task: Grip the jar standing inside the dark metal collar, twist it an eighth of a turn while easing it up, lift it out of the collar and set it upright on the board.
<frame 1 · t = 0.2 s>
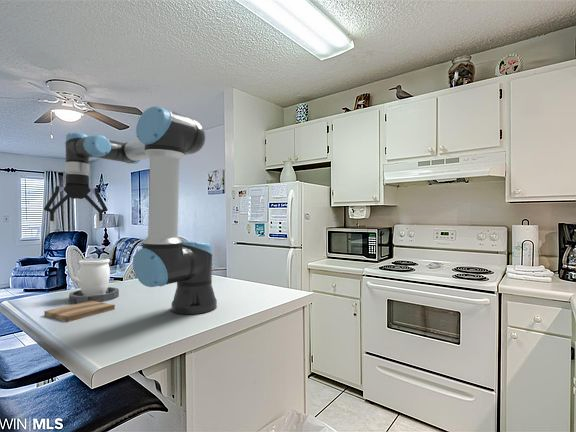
hand: (77, 229, 122), 27 cm above the countertop, tool pointing down, fingers open, 13 cm apart
collar: (94, 298, 125), on the countertop
jar: (94, 298, 125), resting in collar
board: (80, 312, 106), on the countertop
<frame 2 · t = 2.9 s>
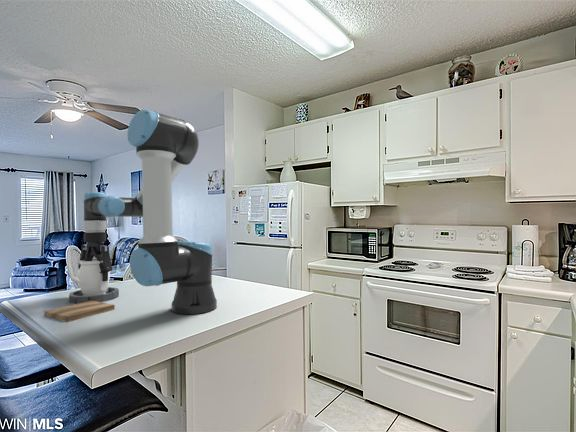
hand: (94, 288, 125), 4 cm above the countertop, tool pointing down, fingers closed on jar, 10 cm apart
jar: (94, 298, 125), resting in collar, touching gripper
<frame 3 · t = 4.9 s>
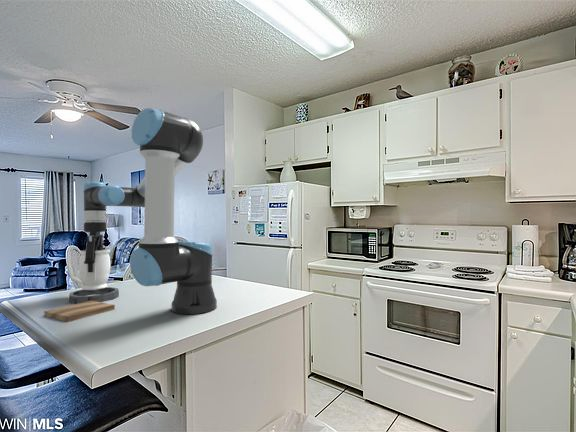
hand: (95, 278, 125), 8 cm above the countertop, tool pointing down, fingers closed on jar, 10 cm apart
jar: (95, 288, 125), point 4 cm above the countertop, touching gripper
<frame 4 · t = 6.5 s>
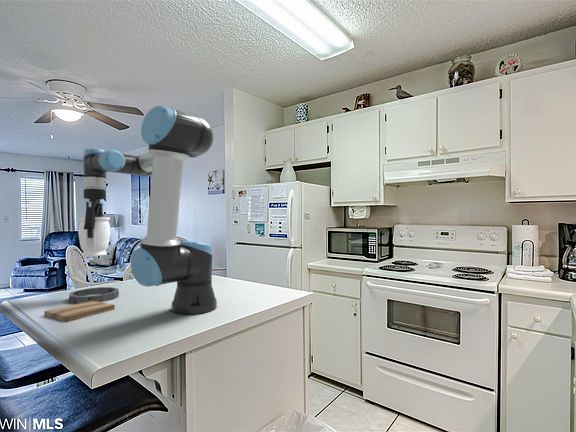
hand: (94, 245, 125), 21 cm above the countertop, tool pointing down, fingers closed on jar, 10 cm apart
jar: (94, 256, 125), point 17 cm above the countertop, touching gripper
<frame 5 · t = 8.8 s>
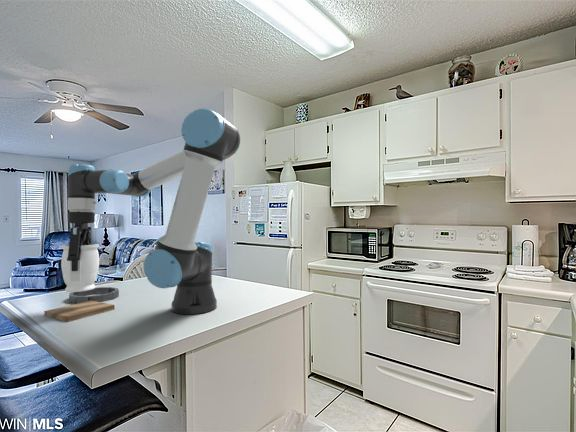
hand: (80, 278, 106), 11 cm above the countertop, tool pointing down, fingers closed on jar, 10 cm apart
jar: (80, 290, 106), point 7 cm above the countertop, touching gripper
when the fingers open (7 cm above the countertop, at t = 10.3 s): jar drops 1 cm, resting on board.
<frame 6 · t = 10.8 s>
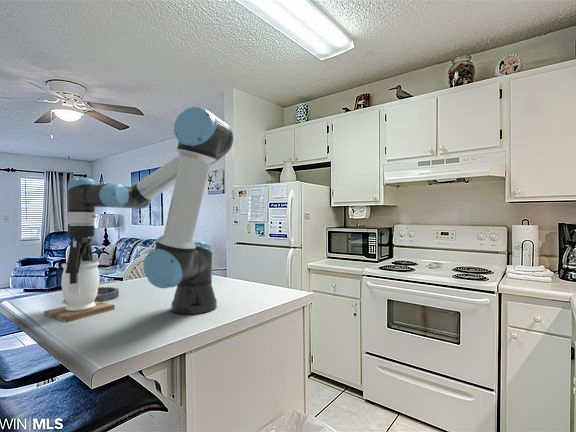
hand: (80, 289, 106), 8 cm above the countertop, tool pointing down, fingers open, 13 cm apart
jar: (80, 308, 106), point 1 cm above the countertop, touching board
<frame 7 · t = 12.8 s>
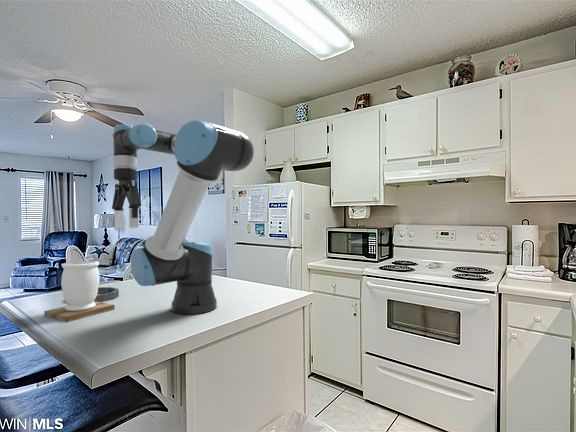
hand: (126, 228, 115), 28 cm above the countertop, tool pointing down, fingers open, 13 cm apart
nothing on the countertop moved.
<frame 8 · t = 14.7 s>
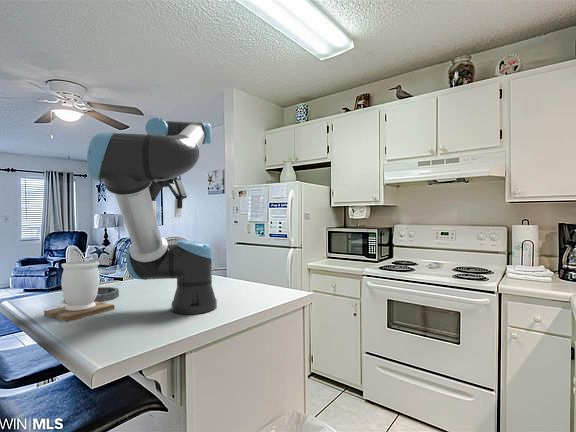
hand: (165, 217, 125), 32 cm above the countertop, tool pointing down, fingers open, 13 cm apart
nothing on the countertop moved.
at the end: jar inside the target area on the board (0.0 cm from its centre), point 1.3 cm above the board's base; jar tilted 0°; the gripper is holding nothing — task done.
